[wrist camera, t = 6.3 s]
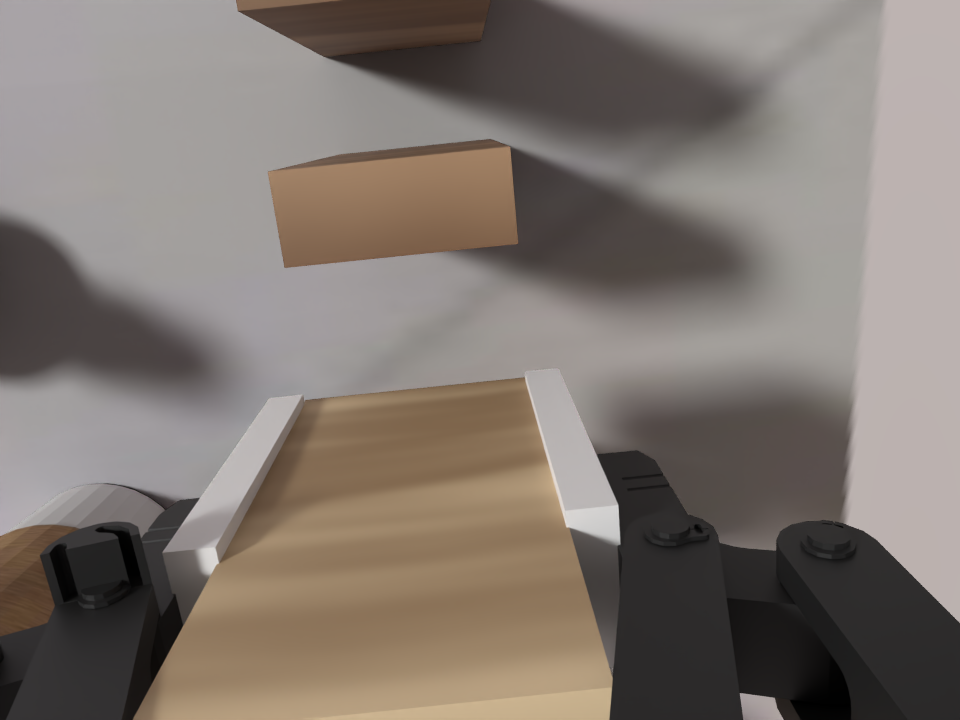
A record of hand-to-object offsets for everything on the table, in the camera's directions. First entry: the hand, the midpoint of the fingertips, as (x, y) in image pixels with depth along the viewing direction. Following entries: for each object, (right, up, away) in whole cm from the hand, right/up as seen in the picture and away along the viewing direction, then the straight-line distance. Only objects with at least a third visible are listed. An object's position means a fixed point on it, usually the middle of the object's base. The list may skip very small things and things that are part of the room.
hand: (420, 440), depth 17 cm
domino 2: (-1, +8, +8) cm, 11 cm away
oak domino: (0, 0, 0) cm, 0 cm away
